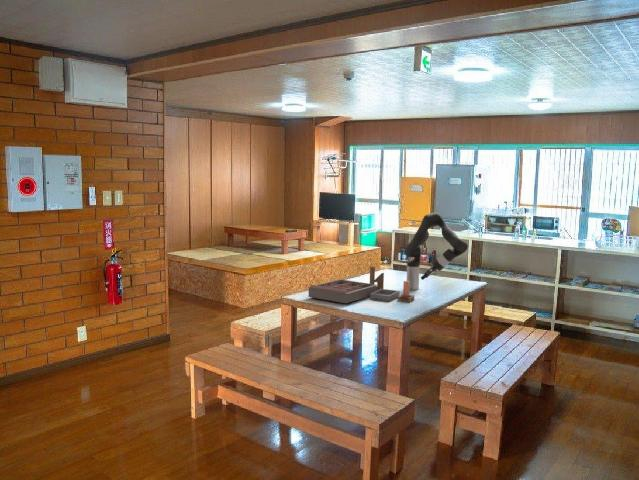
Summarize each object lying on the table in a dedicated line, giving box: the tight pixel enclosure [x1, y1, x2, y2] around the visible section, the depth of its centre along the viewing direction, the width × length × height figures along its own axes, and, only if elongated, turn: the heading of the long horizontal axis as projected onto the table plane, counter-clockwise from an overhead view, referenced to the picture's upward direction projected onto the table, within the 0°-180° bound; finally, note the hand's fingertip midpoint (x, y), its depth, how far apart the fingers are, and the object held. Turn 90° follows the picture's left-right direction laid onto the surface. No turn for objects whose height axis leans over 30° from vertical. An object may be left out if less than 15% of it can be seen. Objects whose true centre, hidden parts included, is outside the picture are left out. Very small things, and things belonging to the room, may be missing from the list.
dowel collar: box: [397, 293, 415, 303], centre depth 360 cm, size 9×9×3 cm
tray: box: [369, 288, 401, 303], centre depth 367 cm, size 20×14×4 cm
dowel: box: [402, 280, 410, 297], centre depth 360 cm, size 4×4×13 cm
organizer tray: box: [307, 279, 377, 304], centre depth 367 cm, size 32×40×10 cm
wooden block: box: [369, 265, 385, 291], centre depth 389 cm, size 4×11×18 cm, turn 54°
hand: (423, 277), depth 353 cm, fingers open, 8 cm apart
